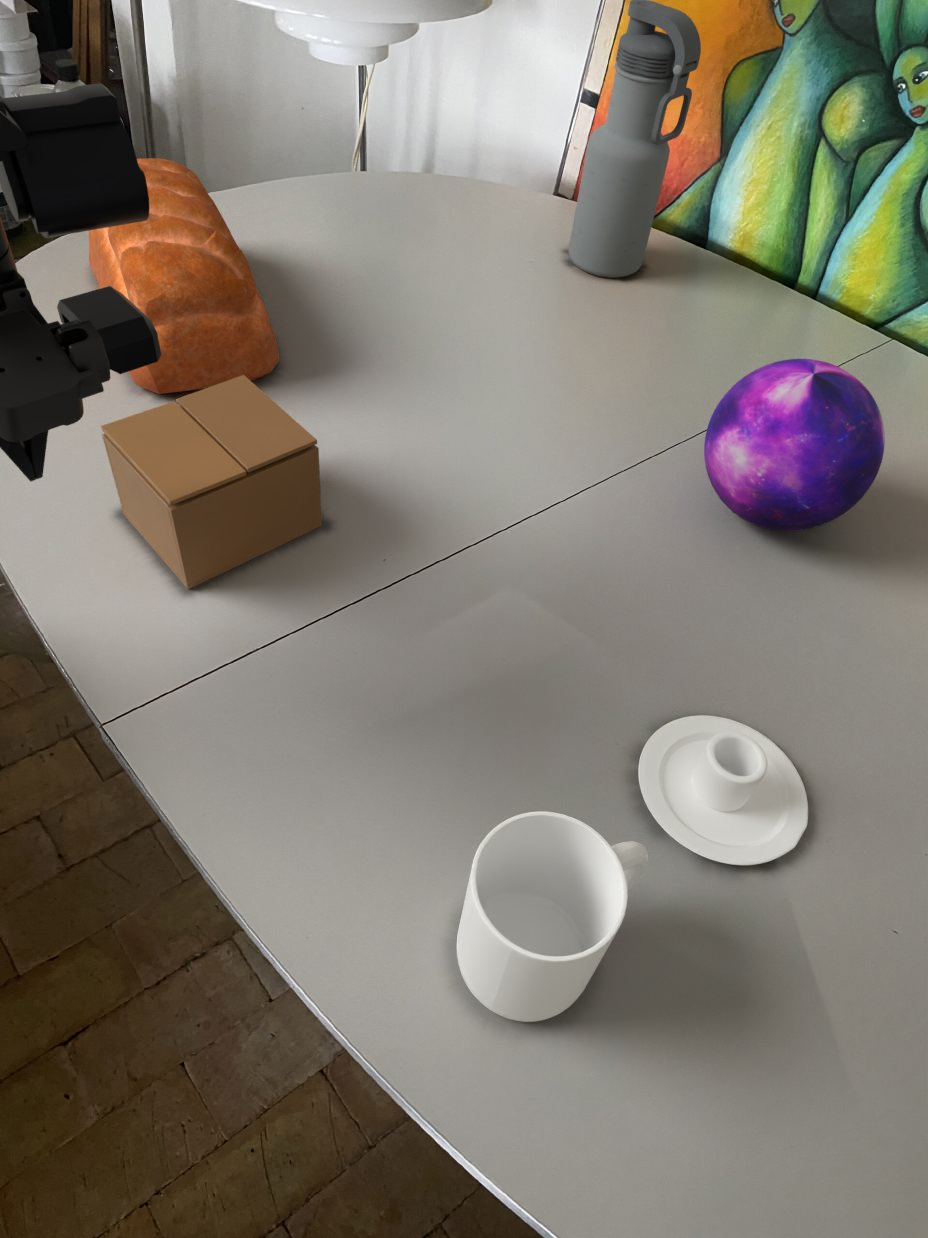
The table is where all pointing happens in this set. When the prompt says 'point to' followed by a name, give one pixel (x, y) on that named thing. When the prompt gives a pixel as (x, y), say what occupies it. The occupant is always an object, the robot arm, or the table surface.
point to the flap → (173, 452)
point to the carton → (229, 486)
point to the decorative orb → (794, 444)
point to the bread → (186, 285)
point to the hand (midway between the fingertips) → (33, 476)
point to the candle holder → (723, 790)
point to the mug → (542, 912)
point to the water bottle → (633, 141)
